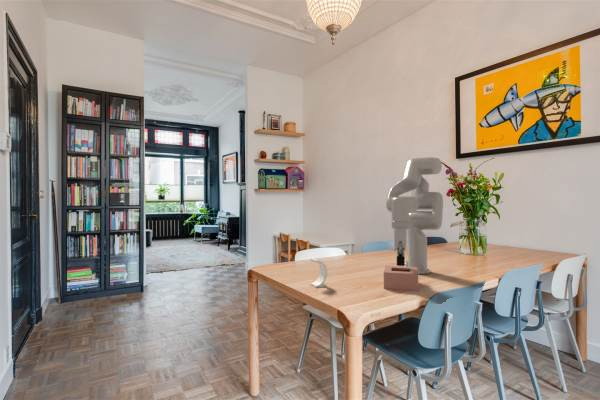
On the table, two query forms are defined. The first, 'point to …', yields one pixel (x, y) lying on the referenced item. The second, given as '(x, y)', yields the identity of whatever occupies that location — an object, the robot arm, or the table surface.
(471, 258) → the table surface
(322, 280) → the headphone stand
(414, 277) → the coin box
